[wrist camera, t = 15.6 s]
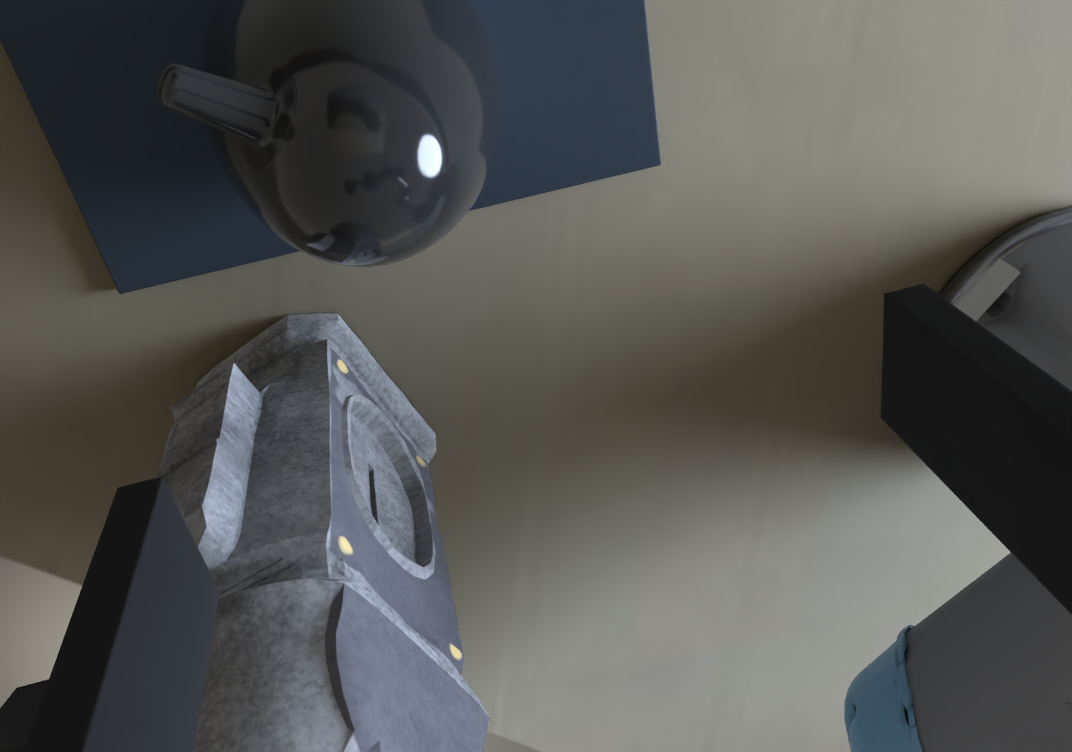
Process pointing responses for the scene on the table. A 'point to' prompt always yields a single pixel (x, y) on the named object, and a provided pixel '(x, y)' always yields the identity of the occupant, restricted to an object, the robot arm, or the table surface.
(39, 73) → the desk mat
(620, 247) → the table surface
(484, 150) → the black rounded piece
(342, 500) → the figurine
